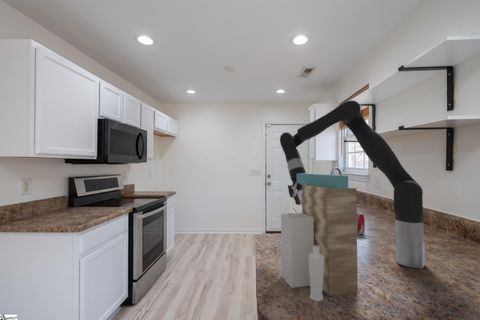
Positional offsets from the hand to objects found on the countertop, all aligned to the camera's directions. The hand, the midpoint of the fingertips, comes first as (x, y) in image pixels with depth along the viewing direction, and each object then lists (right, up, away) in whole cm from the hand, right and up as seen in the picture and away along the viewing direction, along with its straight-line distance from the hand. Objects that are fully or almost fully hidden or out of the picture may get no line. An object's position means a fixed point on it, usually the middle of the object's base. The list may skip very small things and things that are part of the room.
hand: (305, 201), depth 106 cm
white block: (-11, -22, -27) cm, 36 cm away
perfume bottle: (-8, -22, -37) cm, 44 cm away
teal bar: (-1, +10, -22) cm, 24 cm away
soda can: (+39, -24, +30) cm, 55 cm away
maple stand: (0, -22, -27) cm, 35 cm away
